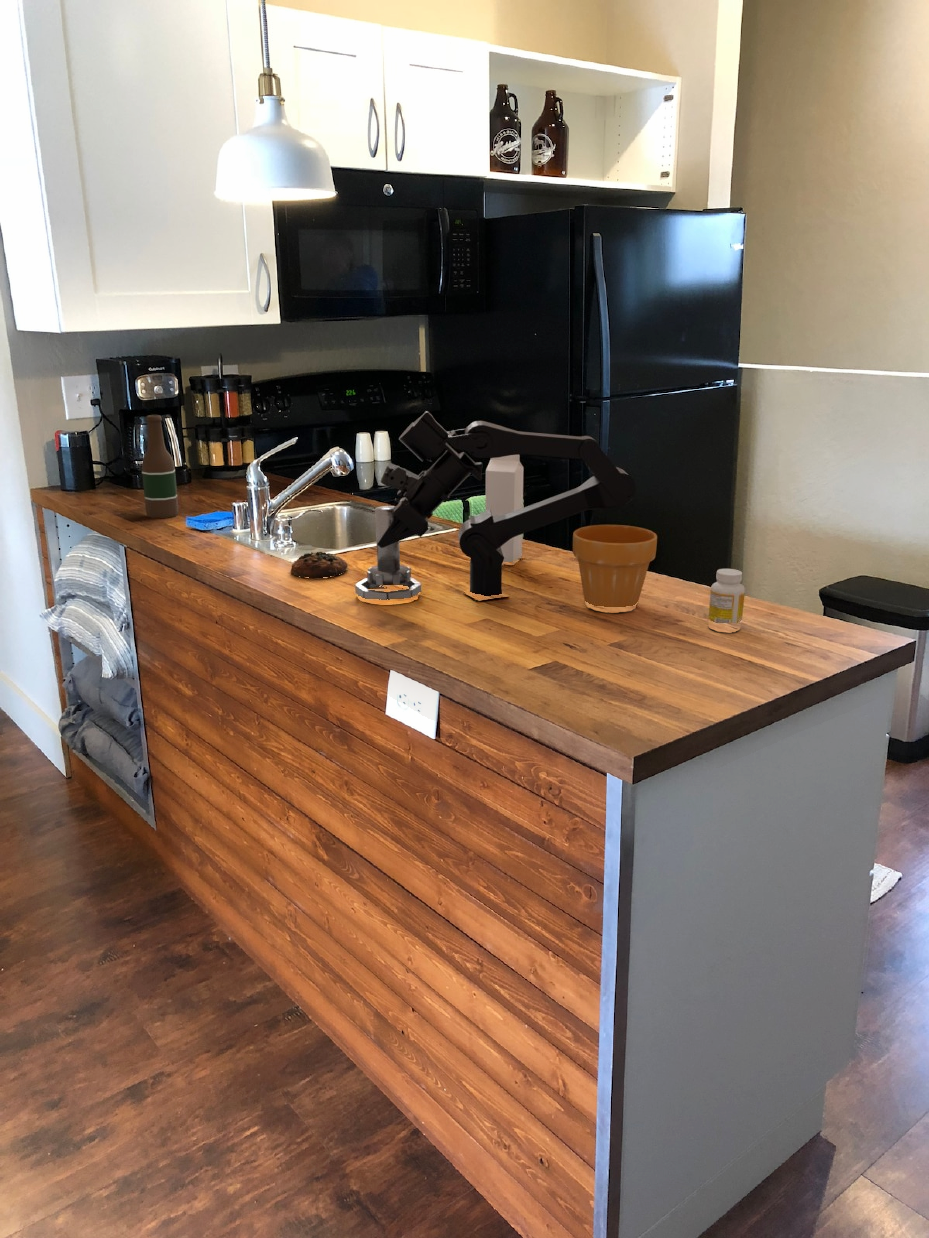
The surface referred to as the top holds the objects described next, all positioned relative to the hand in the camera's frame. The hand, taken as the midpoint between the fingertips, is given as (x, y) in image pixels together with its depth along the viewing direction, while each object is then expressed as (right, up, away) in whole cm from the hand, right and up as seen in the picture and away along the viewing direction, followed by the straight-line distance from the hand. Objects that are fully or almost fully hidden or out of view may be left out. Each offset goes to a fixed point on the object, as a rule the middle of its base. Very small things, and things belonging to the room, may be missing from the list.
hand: (380, 543), depth 178 cm
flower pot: (+40, -11, -2) cm, 42 cm away
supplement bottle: (+57, -15, -14) cm, 61 cm away
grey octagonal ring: (+1, -9, +3) cm, 10 cm away
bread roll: (-14, -5, +19) cm, 24 cm away
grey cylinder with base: (+1, -6, +2) cm, 7 cm away
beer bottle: (-59, +12, +68) cm, 90 cm away
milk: (+23, -2, +27) cm, 35 cm away
